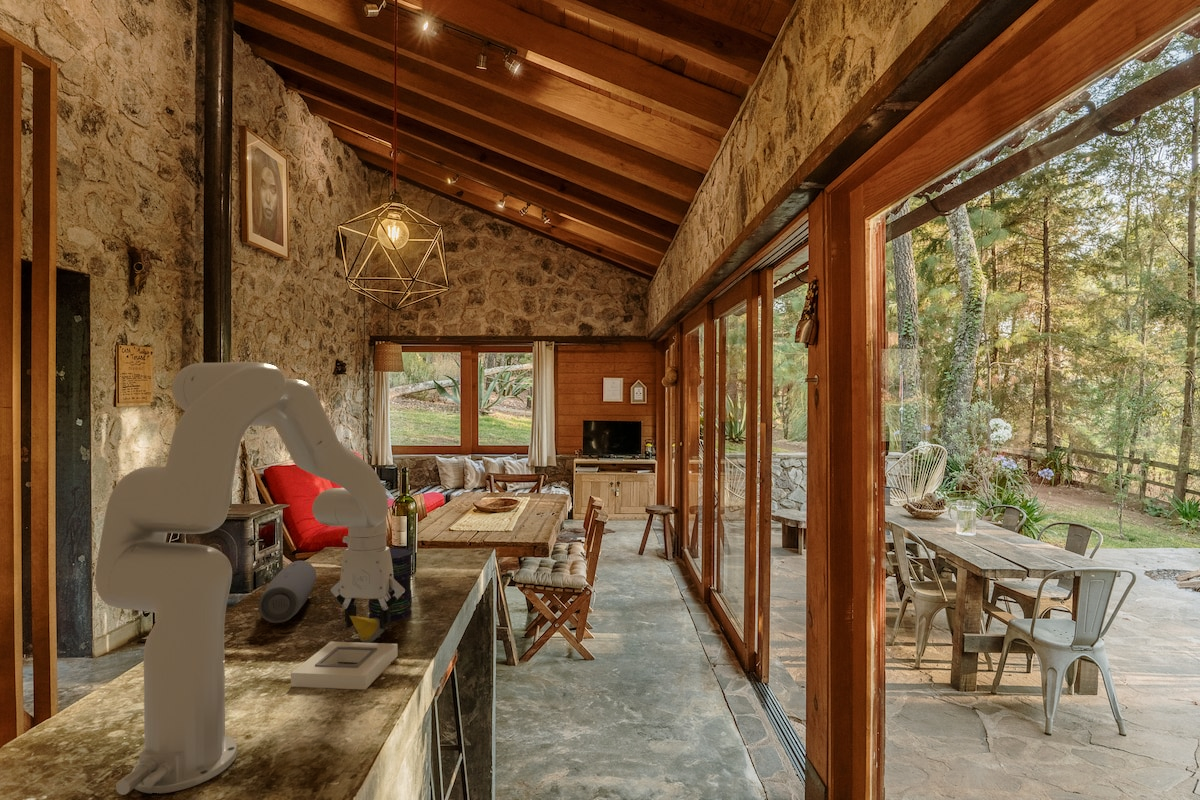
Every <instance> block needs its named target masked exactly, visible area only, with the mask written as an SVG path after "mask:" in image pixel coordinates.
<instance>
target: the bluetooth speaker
mask: <svg viewBox="0 0 1200 800" xmlns="http://www.w3.org/2000/svg"><path fill="white" fill-rule="evenodd" d="M316 579H317V572H316V569H315V567H314V566H313V564H311V563H310V562H308V561H306V560H295V561H292V562H290V563H289V564H287V565H286V566H284V567H283V568H282V569H281V570H280V571H279V572H278V573H277V574H276V575H275V576H274V578H273V579H272V580H271V581H270V583H268V585H267V587H266V588H265V589H264V591H263V593H262V595H261V597H260V600H259V602H258V612H259V615H261V617H262V618H263V620H265V621H267V622H269V623H273V624H279V623H284V622H287V621H289V620H291V618H293V617H294V616H295V615H296V614H297V613H298V612H299V611H300V609H301V608H302V607H303V606H304V605H305V603H306V602H307V600H308V599H309V597H310V595H311V592H312V590H313V588H314V586H315V584H316Z"/></svg>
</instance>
